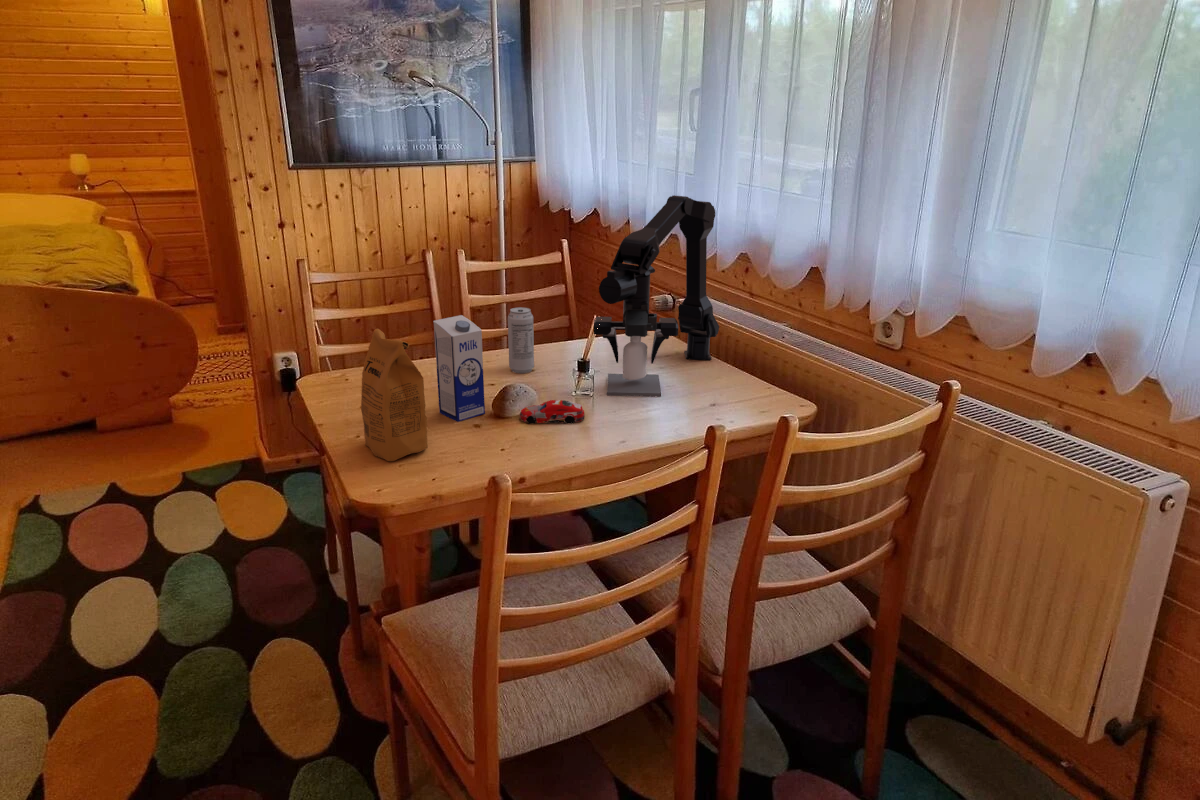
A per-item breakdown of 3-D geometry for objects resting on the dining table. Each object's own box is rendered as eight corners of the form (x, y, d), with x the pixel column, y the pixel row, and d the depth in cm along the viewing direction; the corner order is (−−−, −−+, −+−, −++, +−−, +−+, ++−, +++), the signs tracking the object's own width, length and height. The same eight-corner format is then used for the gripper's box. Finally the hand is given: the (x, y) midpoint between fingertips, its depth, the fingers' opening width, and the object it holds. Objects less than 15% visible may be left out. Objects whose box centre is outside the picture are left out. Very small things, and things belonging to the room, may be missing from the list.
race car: (518, 425, 156) (518, 407, 155) (520, 415, 161) (520, 397, 160) (584, 425, 157) (584, 407, 155) (583, 415, 162) (584, 397, 160)
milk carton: (466, 405, 166) (462, 313, 159) (485, 413, 161) (482, 320, 154) (438, 413, 161) (432, 319, 154) (457, 422, 156) (452, 326, 149)
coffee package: (406, 431, 152) (398, 322, 144) (435, 453, 143) (427, 337, 135) (357, 443, 146) (345, 330, 138) (383, 466, 137) (372, 347, 129)
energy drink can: (533, 366, 191) (532, 306, 186) (534, 373, 186) (533, 312, 180) (508, 366, 190) (507, 307, 185) (509, 374, 185) (507, 313, 180)
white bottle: (621, 374, 179) (622, 324, 175) (645, 374, 180) (646, 323, 176) (623, 380, 175) (624, 329, 171) (648, 380, 176) (649, 329, 171)
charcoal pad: (607, 376, 184) (608, 373, 184) (658, 377, 184) (658, 374, 184) (607, 395, 172) (607, 392, 172) (661, 396, 172) (661, 393, 172)
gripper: (593, 303, 163) (592, 373, 169) (681, 304, 163) (678, 375, 169) (594, 291, 174) (594, 357, 179) (677, 292, 173) (674, 359, 179)
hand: (634, 362), depth 176 cm, fingers closed on white bottle, 7 cm apart
